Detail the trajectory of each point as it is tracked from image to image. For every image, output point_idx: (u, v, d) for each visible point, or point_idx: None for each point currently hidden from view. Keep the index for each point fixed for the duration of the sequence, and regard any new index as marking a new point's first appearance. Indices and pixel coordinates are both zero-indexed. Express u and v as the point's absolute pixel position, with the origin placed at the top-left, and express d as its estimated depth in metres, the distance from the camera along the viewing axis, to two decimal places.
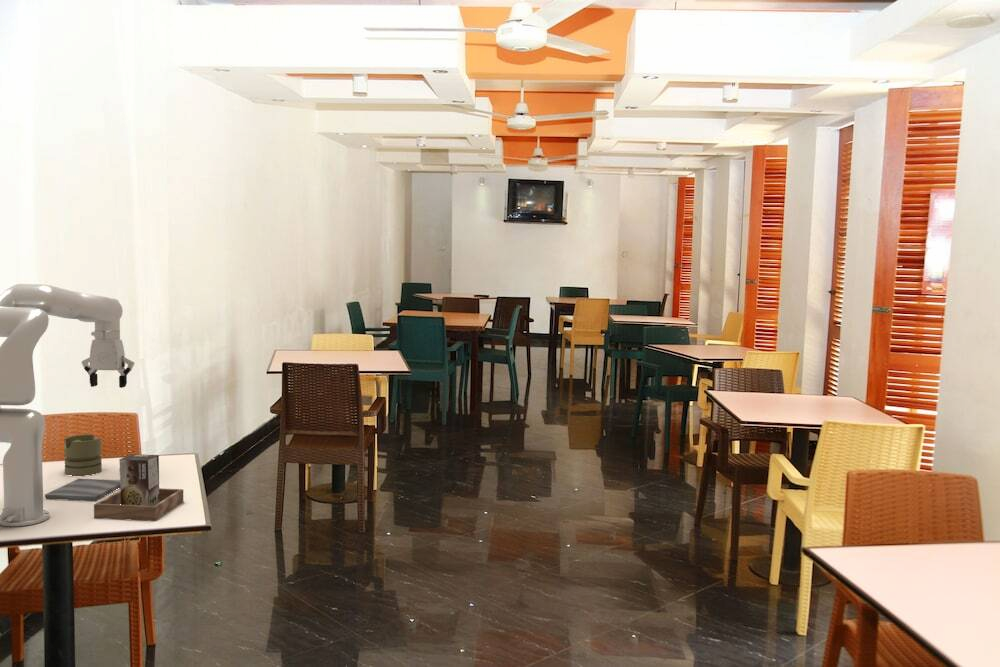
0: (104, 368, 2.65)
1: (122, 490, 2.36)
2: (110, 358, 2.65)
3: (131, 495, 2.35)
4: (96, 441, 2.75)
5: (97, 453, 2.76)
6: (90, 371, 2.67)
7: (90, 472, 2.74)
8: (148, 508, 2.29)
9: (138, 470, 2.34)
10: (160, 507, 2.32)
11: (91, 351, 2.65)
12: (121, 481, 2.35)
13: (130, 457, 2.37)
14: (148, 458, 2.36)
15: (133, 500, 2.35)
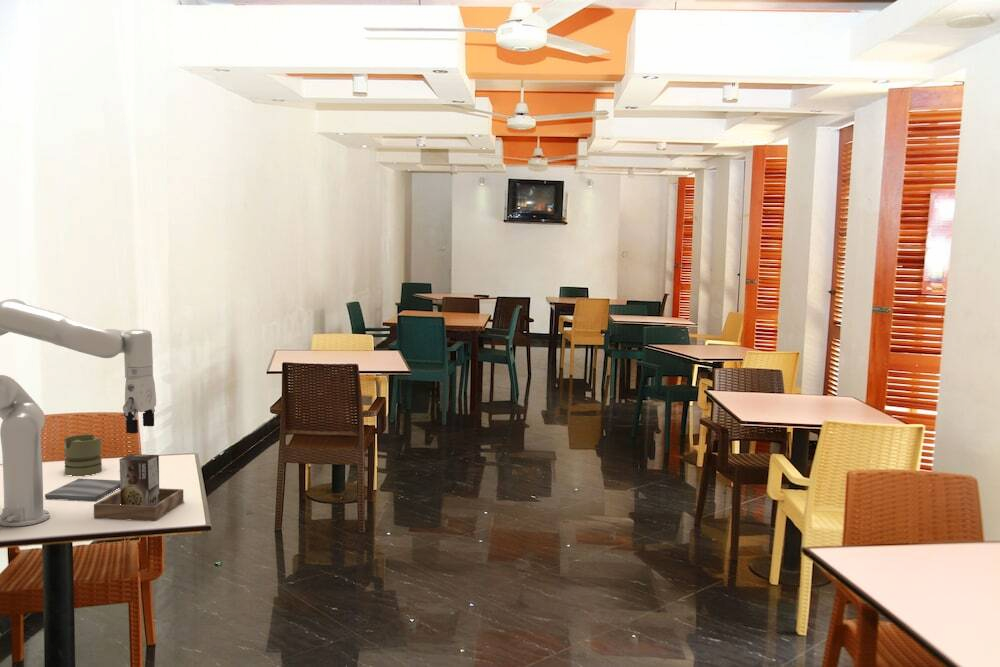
0: (149, 407, 2.36)
1: (122, 490, 2.36)
2: (152, 395, 2.38)
3: (131, 495, 2.35)
4: (96, 441, 2.75)
5: (97, 453, 2.76)
6: (135, 416, 2.31)
7: (90, 472, 2.74)
8: (148, 508, 2.29)
9: (138, 470, 2.34)
10: (160, 507, 2.32)
11: (140, 392, 2.31)
12: (121, 481, 2.35)
13: (130, 457, 2.37)
14: (148, 458, 2.36)
15: (133, 500, 2.35)
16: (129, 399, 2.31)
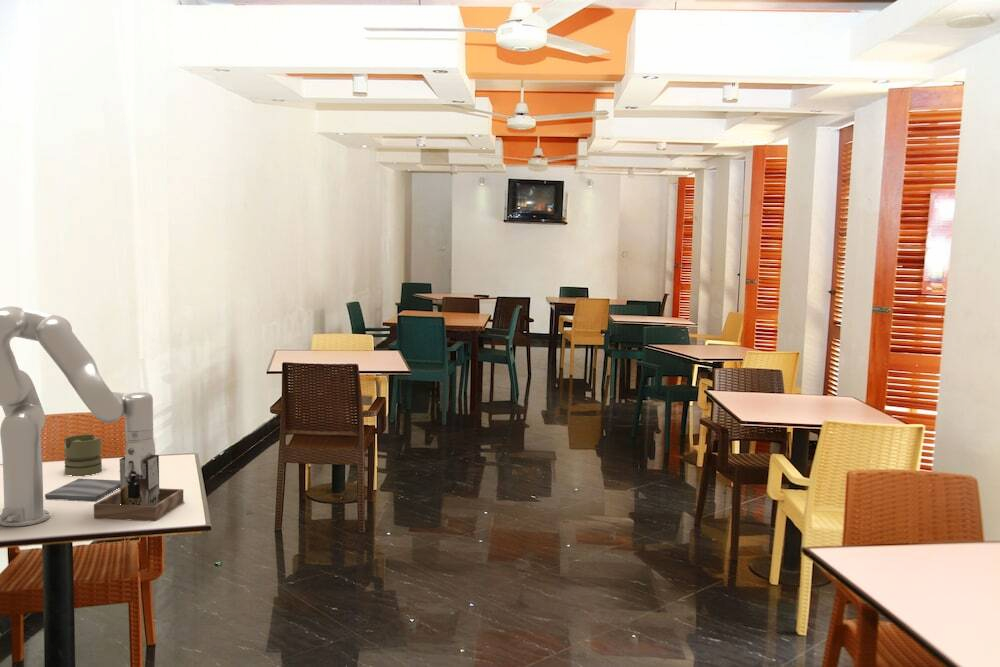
0: None
1: (122, 490, 2.36)
2: None
3: None
4: (96, 441, 2.75)
5: (97, 453, 2.76)
6: (137, 481, 2.34)
7: (90, 472, 2.74)
8: (148, 508, 2.29)
9: None
10: (160, 507, 2.32)
11: (140, 455, 2.33)
12: (121, 481, 2.35)
13: None
14: (148, 458, 2.36)
15: (133, 500, 2.35)
16: (129, 464, 2.32)
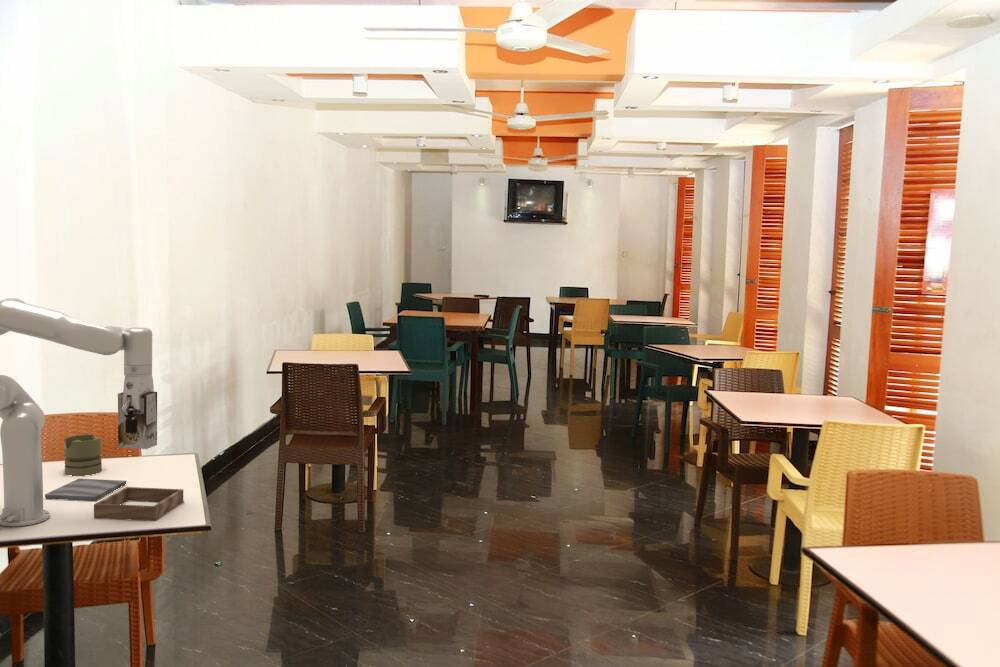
0: None
1: (120, 425, 2.34)
2: None
3: None
4: (96, 441, 2.75)
5: (97, 453, 2.76)
6: (135, 415, 2.32)
7: (90, 472, 2.74)
8: (148, 508, 2.29)
9: None
10: (160, 507, 2.32)
11: (138, 390, 2.31)
12: (119, 416, 2.33)
13: None
14: (146, 393, 2.34)
15: (130, 435, 2.33)
16: (127, 398, 2.30)
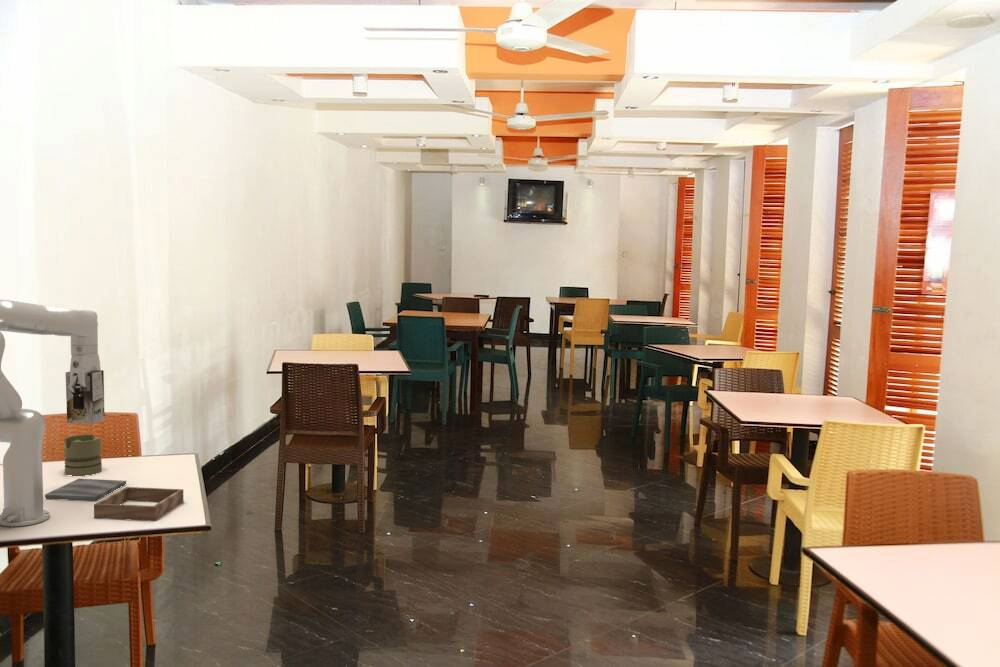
0: None
1: (68, 402, 2.50)
2: None
3: None
4: (96, 441, 2.75)
5: (97, 453, 2.76)
6: (81, 392, 2.48)
7: (90, 472, 2.74)
8: (148, 508, 2.29)
9: None
10: (160, 507, 2.32)
11: (84, 368, 2.47)
12: (67, 393, 2.49)
13: None
14: (93, 372, 2.50)
15: (78, 411, 2.49)
16: (74, 376, 2.46)
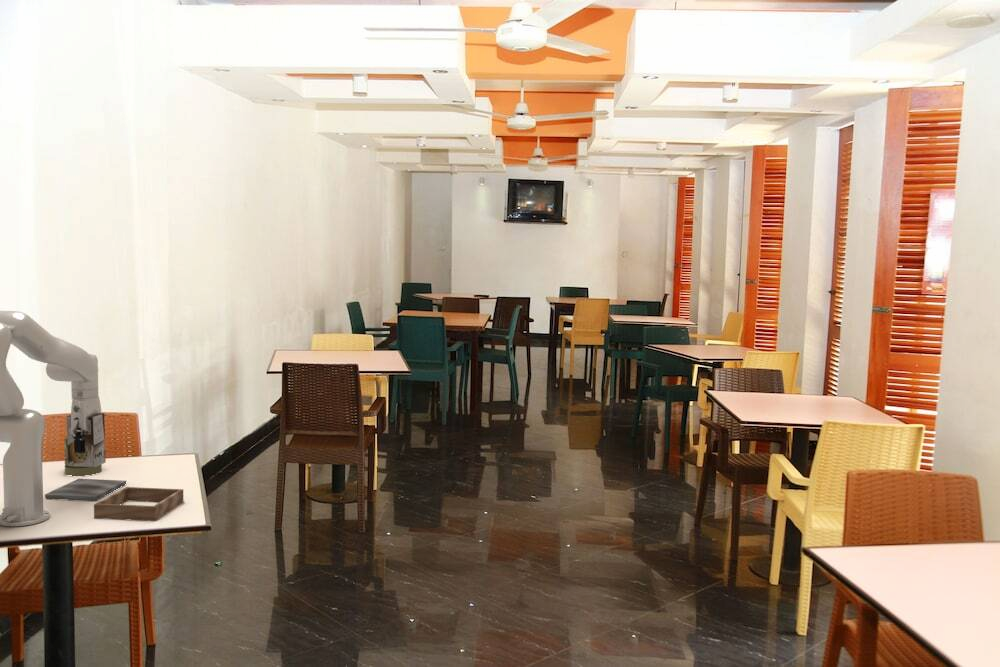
0: None
1: (69, 445, 2.51)
2: None
3: None
4: None
5: None
6: (82, 436, 2.49)
7: (90, 472, 2.74)
8: (148, 508, 2.29)
9: None
10: (160, 507, 2.32)
11: (85, 412, 2.48)
12: (68, 437, 2.51)
13: None
14: (93, 415, 2.51)
15: (79, 454, 2.51)
16: (75, 421, 2.48)
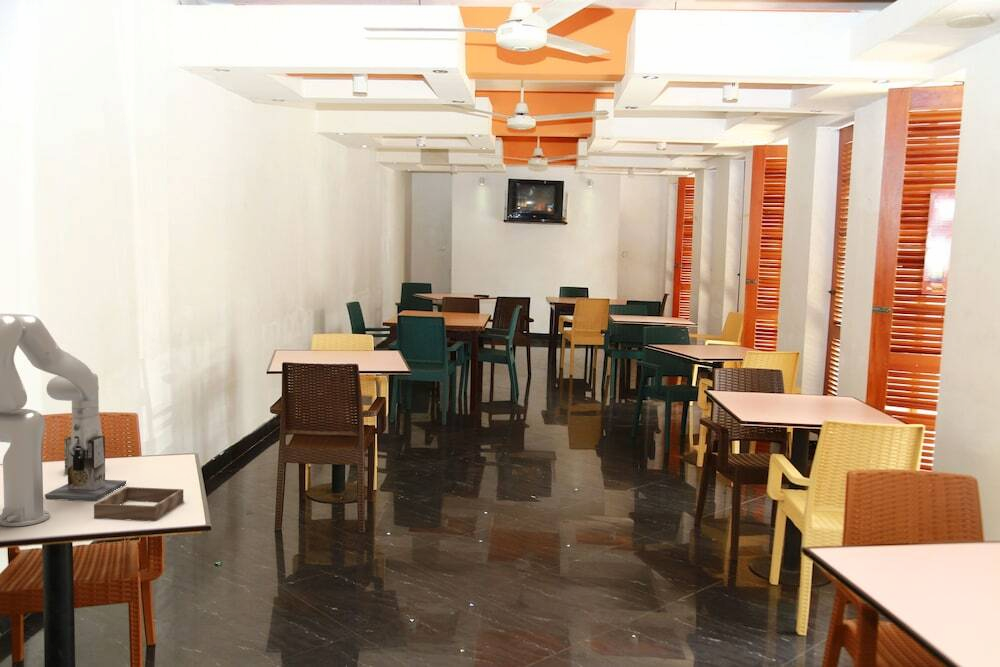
0: None
1: (69, 468, 2.51)
2: (98, 433, 2.56)
3: (77, 473, 2.51)
4: None
5: None
6: (81, 454, 2.49)
7: None
8: (148, 508, 2.29)
9: (85, 450, 2.50)
10: (160, 507, 2.32)
11: (85, 431, 2.49)
12: (68, 460, 2.51)
13: None
14: (94, 438, 2.52)
15: (79, 477, 2.51)
16: (75, 439, 2.48)
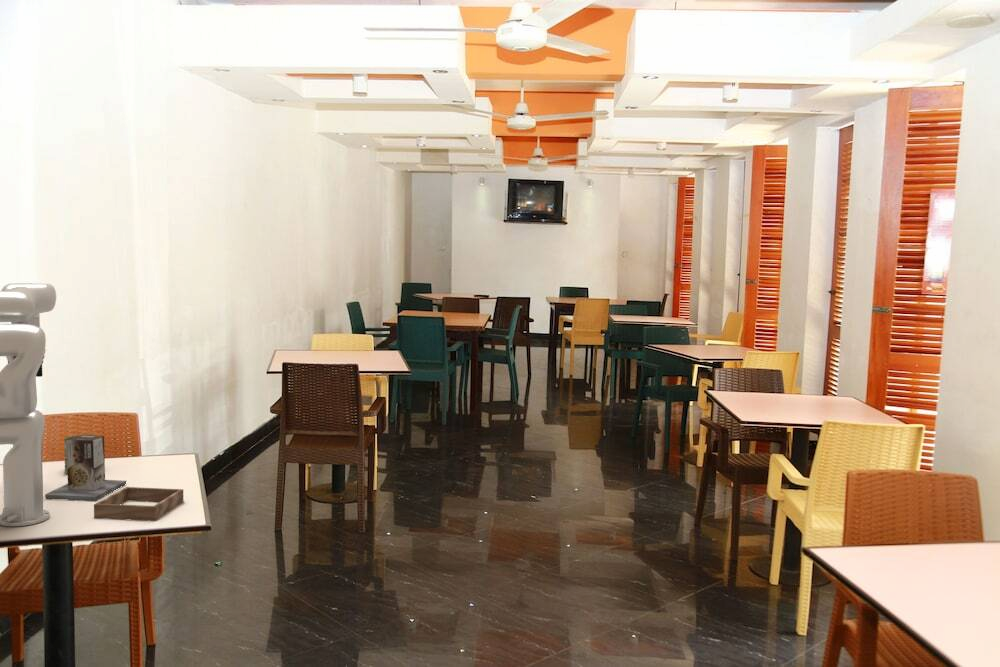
0: None
1: (69, 469, 2.51)
2: None
3: (77, 473, 2.51)
4: None
5: None
6: None
7: None
8: (148, 508, 2.29)
9: (84, 450, 2.50)
10: (160, 507, 2.32)
11: None
12: (68, 460, 2.51)
13: (76, 438, 2.53)
14: (93, 438, 2.52)
15: (79, 478, 2.51)
16: None
